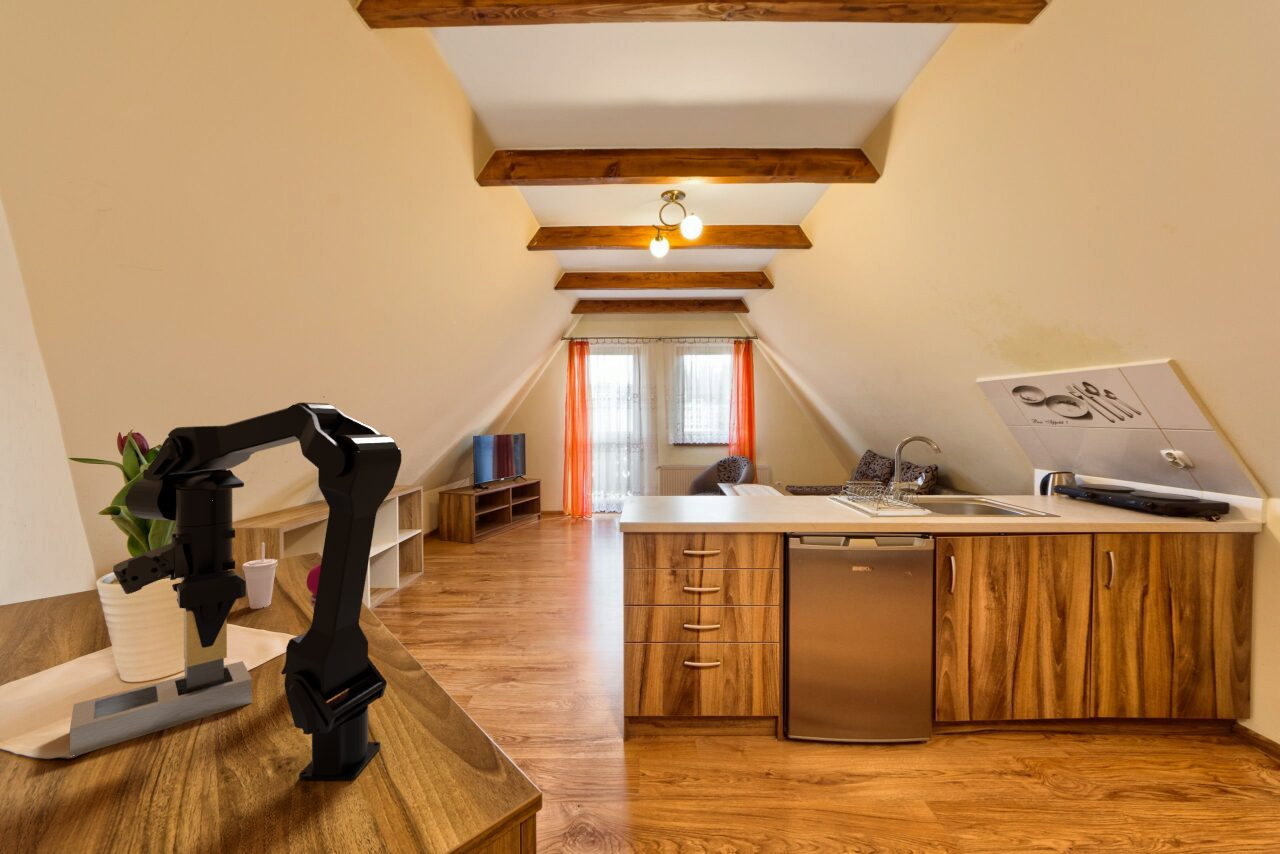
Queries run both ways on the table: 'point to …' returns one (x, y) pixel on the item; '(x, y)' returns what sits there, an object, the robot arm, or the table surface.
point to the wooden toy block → (192, 643)
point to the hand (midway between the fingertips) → (205, 641)
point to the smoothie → (260, 580)
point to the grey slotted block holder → (159, 705)
